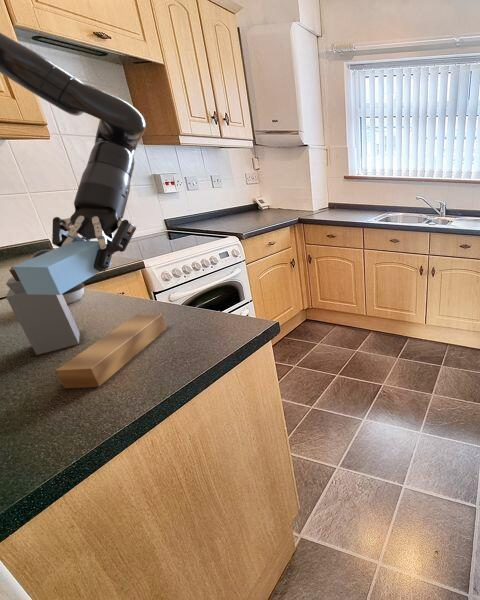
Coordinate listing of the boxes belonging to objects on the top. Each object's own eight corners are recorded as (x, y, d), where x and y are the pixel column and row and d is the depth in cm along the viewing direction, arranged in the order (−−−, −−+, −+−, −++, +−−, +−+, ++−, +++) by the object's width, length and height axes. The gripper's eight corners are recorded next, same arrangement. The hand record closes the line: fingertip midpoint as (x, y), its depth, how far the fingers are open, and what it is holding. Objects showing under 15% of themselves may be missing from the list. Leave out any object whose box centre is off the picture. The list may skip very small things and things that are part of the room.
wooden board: (99, 386, 61) (91, 368, 59) (64, 388, 61) (54, 370, 59) (166, 328, 81) (161, 313, 80) (140, 329, 81) (135, 314, 79)
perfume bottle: (40, 342, 76) (0, 266, 68) (79, 332, 80) (46, 259, 72) (36, 355, 71) (-6, 274, 64) (78, 344, 75) (43, 267, 68)
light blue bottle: (60, 294, 56) (47, 267, 54) (27, 294, 56) (12, 266, 53) (126, 256, 72) (118, 234, 69) (100, 256, 71) (92, 233, 69)
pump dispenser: (52, 311, 90) (27, 257, 84) (34, 305, 94) (8, 252, 88) (97, 298, 99) (76, 247, 93) (78, 292, 103) (57, 243, 97)
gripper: (49, 178, 64) (22, 260, 59) (129, 182, 66) (109, 263, 61) (80, 200, 71) (58, 275, 66) (153, 203, 73) (136, 277, 68)
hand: (83, 269), depth 64 cm, fingers closed on light blue bottle, 5 cm apart
